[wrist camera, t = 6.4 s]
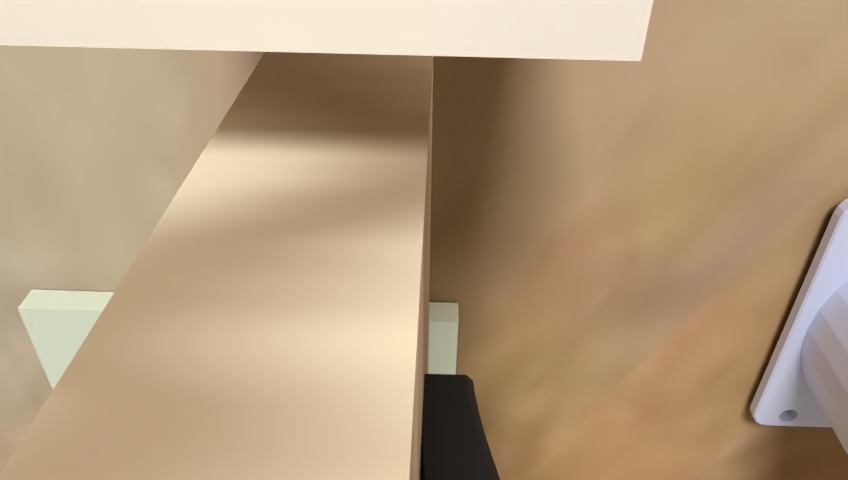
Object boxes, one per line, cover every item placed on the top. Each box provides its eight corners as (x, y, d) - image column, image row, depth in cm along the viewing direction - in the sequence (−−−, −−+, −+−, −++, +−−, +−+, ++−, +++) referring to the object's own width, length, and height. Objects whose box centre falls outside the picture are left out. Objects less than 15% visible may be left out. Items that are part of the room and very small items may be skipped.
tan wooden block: (433, 48, 10) (406, 533, 4) (427, 435, 16) (410, 922, 9) (270, 44, 10) (-28, 517, 4) (317, 431, 16) (222, 913, 9)
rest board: (458, 303, 19) (458, 322, 18) (449, 460, 23) (449, 481, 23) (32, 289, 19) (17, 308, 19) (97, 448, 23) (87, 468, 23)
